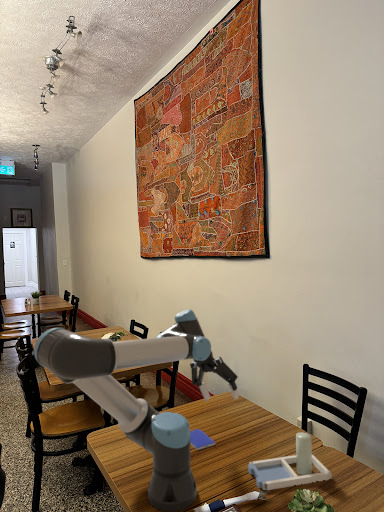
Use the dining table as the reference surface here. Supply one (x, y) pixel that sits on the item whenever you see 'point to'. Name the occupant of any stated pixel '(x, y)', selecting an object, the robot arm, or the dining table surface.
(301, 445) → the pale green cylinder
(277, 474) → the bay rack
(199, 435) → the blue book
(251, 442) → the dining table surface
